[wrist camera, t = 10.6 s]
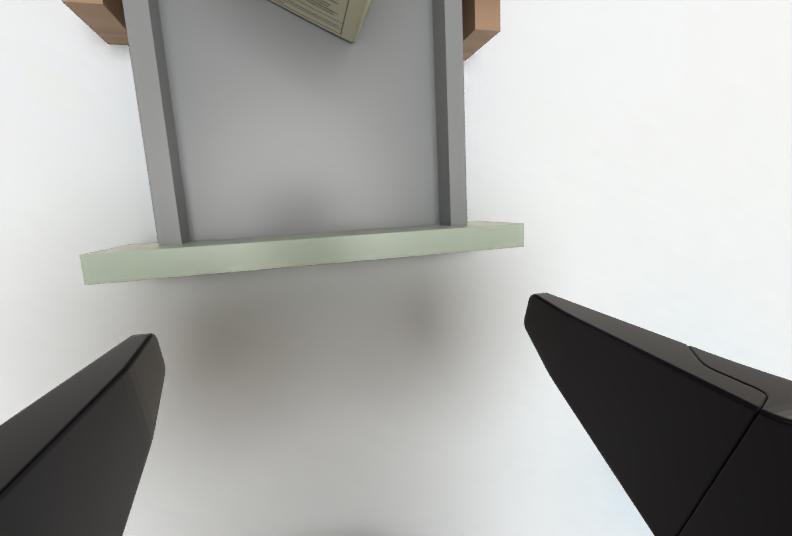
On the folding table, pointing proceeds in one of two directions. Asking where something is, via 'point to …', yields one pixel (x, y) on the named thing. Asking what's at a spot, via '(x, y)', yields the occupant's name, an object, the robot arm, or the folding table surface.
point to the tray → (297, 139)
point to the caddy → (105, 15)
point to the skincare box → (331, 14)
